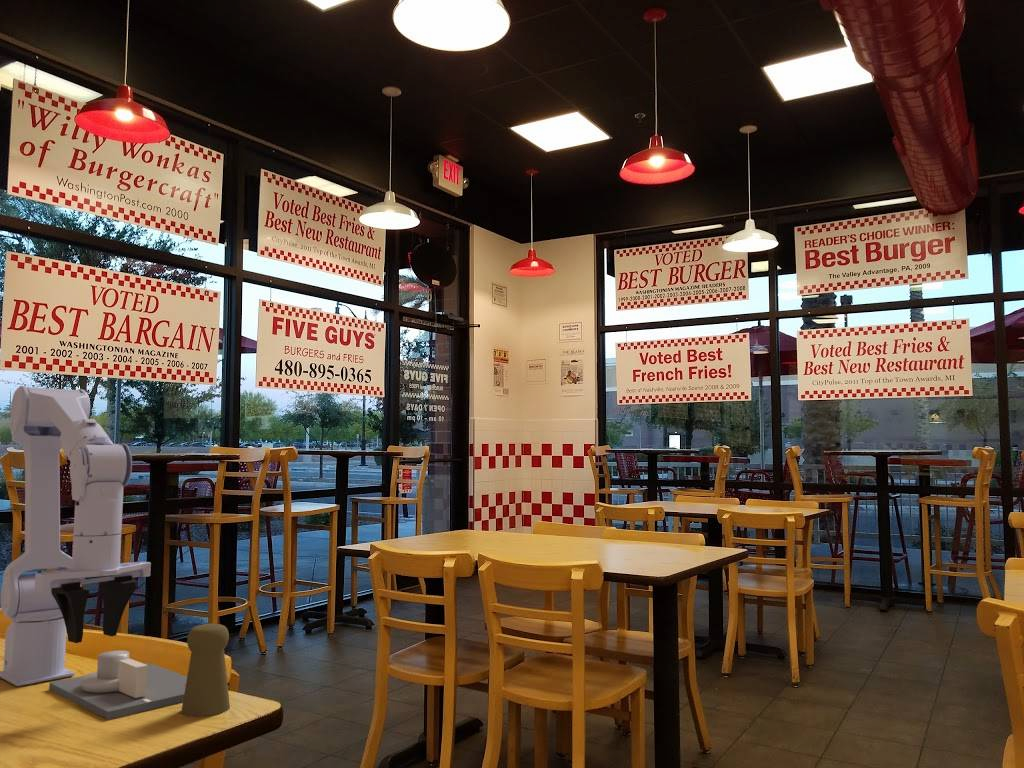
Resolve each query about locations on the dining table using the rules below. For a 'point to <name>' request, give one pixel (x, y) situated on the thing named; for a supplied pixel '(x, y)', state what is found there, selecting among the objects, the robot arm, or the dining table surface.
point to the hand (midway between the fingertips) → (92, 638)
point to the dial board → (110, 705)
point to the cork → (206, 672)
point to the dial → (117, 675)
